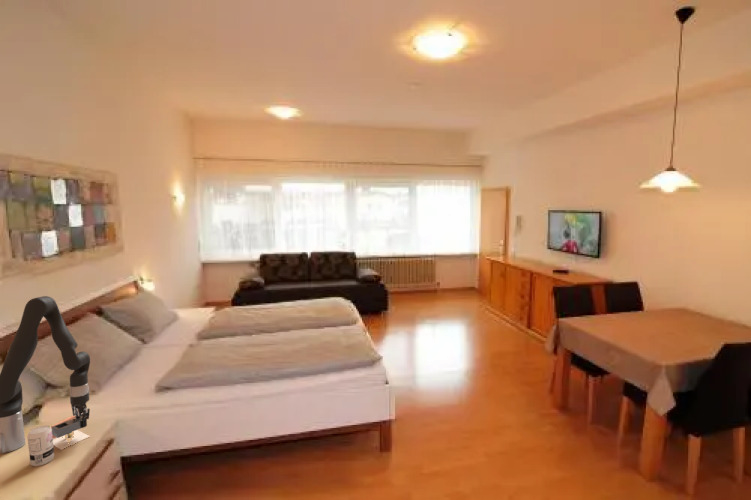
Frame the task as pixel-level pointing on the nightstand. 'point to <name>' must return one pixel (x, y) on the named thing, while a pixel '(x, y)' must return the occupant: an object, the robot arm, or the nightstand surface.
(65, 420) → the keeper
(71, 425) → the link
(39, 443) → the supplement can
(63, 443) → the board
